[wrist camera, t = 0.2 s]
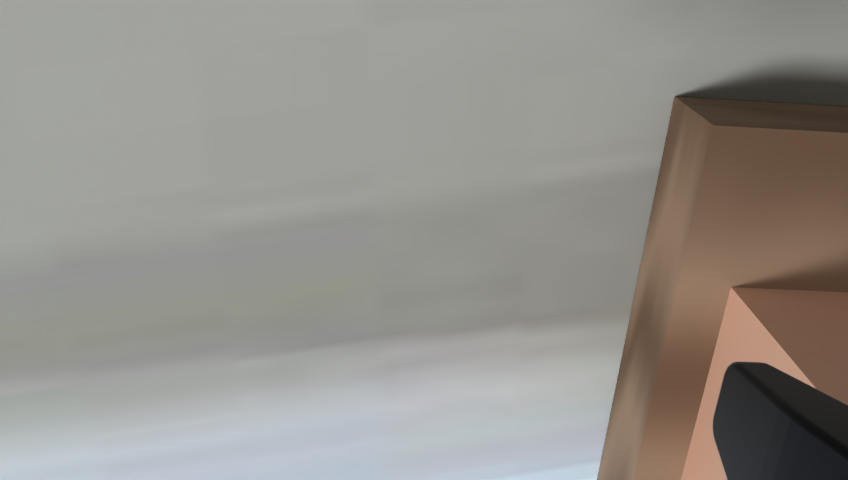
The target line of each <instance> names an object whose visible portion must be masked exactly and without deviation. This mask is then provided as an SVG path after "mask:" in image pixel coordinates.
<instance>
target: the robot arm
mask: <svg viewBox="0 0 848 480" xmlns="http://www.w3.org/2000/svg"><path fill="white" fill-rule="evenodd" d="M713 435H714V440H715V443H716V446H717V449H718V452H719V455H720V458H721V462H722V465H723V468H724V471H725V474H726V477H727V480H848V405H846V404H844V403H842V402H841V401H839V400H837V399H835V398H833V397H831V396H829V395H827V394H825V393H823V392H821V391H819V390H817V389H815V388H813V387H812V386H810V385H808V384H806V383H804V382H802V381H800V380H798V379H796V378H794V377H792V376H790V375H788V374H786V373H784V372H782V371H781V370H779V369H777V368H775V367H773V366H771V365H769V364H766V363H761V362H733V363H732V364H730V365H729V366H728V367H727V369H726V371H725V374H724V377H723V381H722V385H721V389H720V393H719V397H718V401H717V405H716V409H715V413H714V417H713Z"/></svg>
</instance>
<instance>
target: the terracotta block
mask: <svg viewBox="0 0 848 480" xmlns="http://www.w3.org/2000/svg"><path fill="white" fill-rule="evenodd" d="M733 362H761V363H766V364H769V365H771V366H773V367H775V368H777V369H779V370H781V371H782V372H784V373H786V374H788V375H790V376H792V377H794V378H796V379H798V380H800V381H802V382H804V383H806V384H808V385H810V386H812V387H813V388H815V389H817V390H819V391H821V392H823V393H825V394H827V395H829V396H831V397H833V398H835V399H837V400H839V401H841V402H842V403H844V404H846V405H848V292H827V291H805V290H784V289H762V288H740V287H731V289H730V293H729V297H728V300H727V304H726V308H725V312H724V316H723V320H722V324H721V327H720V331H719V335H718V339H717V343H716V347H715V350H714V354H713V358H712V362H711V366H710V370H709V374H708V377H707V381H706V385H705V389H704V393H703V397H702V400H701V404H700V408H699V412H698V416H697V420H696V423H695V427H694V431H693V435H692V439H691V443H690V447H689V450H688V454H687V458H686V462H685V466H684V470H683V473H682V477H681V480H727V477H726V474H725V471H724V468H723V465H722V462H721V458H720V455H719V452H718V449H717V446H716V443H715V440H714V435H713V417H714V413H715V409H716V405H717V401H718V397H719V393H720V389H721V385H722V381H723V377H724V374H725V371H726V369H727V367H728V366H729V365H730V364H732V363H733Z"/></svg>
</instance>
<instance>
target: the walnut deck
mask: <svg viewBox="0 0 848 480" xmlns="http://www.w3.org/2000/svg"><path fill="white" fill-rule="evenodd" d="M731 287H740V288H762V289H784V290H805V291H827V292H848V107H844V106H827V105H809V104H792V103H775V102H758V101H741V100H724V99H707V98H689V97H674V102H673V107H672V112H671V117H670V122H669V127H668V132H667V137H666V142H665V147H664V152H663V157H662V162H661V167H660V172H659V177H658V182H657V187H656V191H655V196H654V201H653V206H652V211H651V216H650V221H649V226H648V231H647V236H646V241H645V246H644V251H643V256H642V261H641V266H640V271H639V276H638V281H637V285H636V290H635V295H634V300H633V305H632V310H631V315H630V320H629V325H628V330H627V335H626V340H625V345H624V350H623V355H622V360H621V365H620V370H619V375H618V379H617V384H616V389H615V394H614V399H613V404H612V409H611V414H610V419H609V424H608V429H607V434H606V439H605V444H604V449H603V454H602V459H601V464H600V468H599V473H598V478H597V480H681V477H682V473H683V470H684V466H685V462H686V458H687V454H688V450H689V447H690V443H691V439H692V435H693V431H694V427H695V423H696V420H697V416H698V412H699V408H700V404H701V400H702V397H703V393H704V389H705V385H706V381H707V377H708V374H709V370H710V366H711V362H712V358H713V354H714V350H715V347H716V343H717V339H718V335H719V331H720V327H721V324H722V320H723V316H724V312H725V308H726V304H727V300H728V297H729V293H730V289H731Z"/></svg>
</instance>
